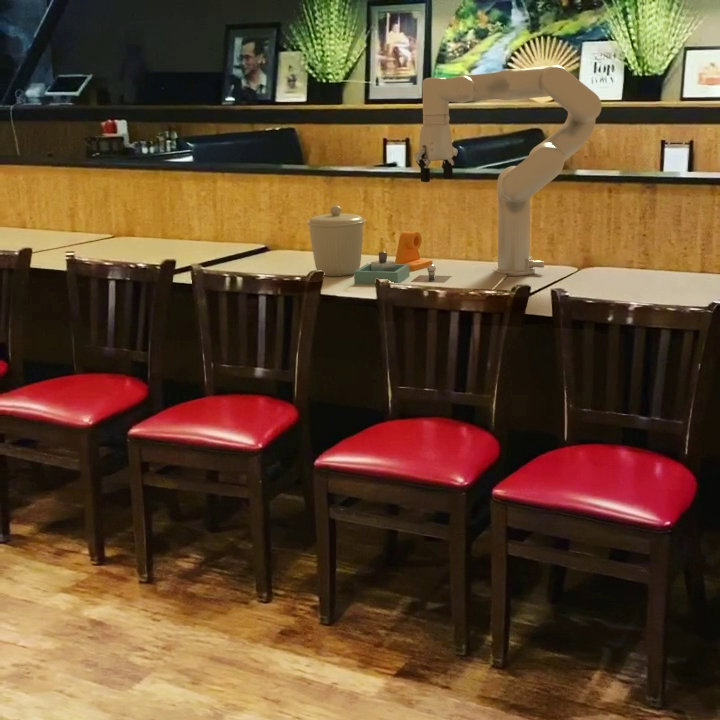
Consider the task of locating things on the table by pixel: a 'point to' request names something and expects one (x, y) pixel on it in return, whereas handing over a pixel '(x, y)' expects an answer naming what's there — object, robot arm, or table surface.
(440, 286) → the table surface
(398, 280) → the bin
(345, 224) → the canister
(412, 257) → the bracket
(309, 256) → the table surface
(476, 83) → the robot arm
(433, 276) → the stud mount
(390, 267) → the strut socket
